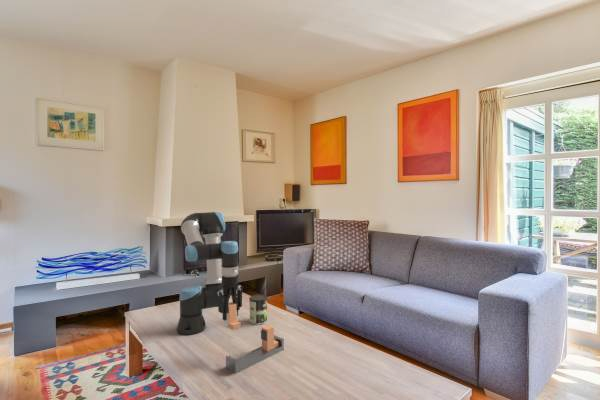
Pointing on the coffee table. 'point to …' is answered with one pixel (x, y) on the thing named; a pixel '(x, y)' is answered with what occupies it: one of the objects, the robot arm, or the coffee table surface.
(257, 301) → the coffee can
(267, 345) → the fixed finger
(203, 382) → the coffee table surface
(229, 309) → the block
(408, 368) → the coffee table surface
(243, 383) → the coffee table surface
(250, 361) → the rail
